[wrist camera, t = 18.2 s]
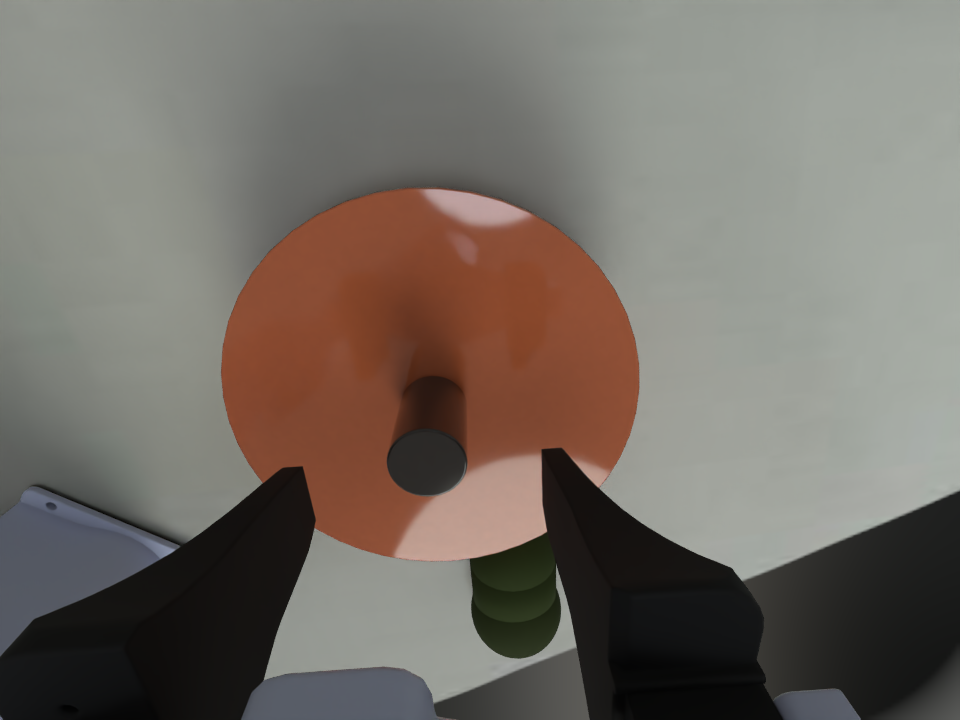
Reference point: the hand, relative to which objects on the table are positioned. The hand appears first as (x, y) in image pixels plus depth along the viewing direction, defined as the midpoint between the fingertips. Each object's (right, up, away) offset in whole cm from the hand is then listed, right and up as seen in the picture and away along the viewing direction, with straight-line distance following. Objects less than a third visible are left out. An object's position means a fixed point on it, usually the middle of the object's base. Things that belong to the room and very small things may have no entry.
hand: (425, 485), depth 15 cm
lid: (0, +2, +5) cm, 6 cm away
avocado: (+3, -8, +15) cm, 17 cm away
